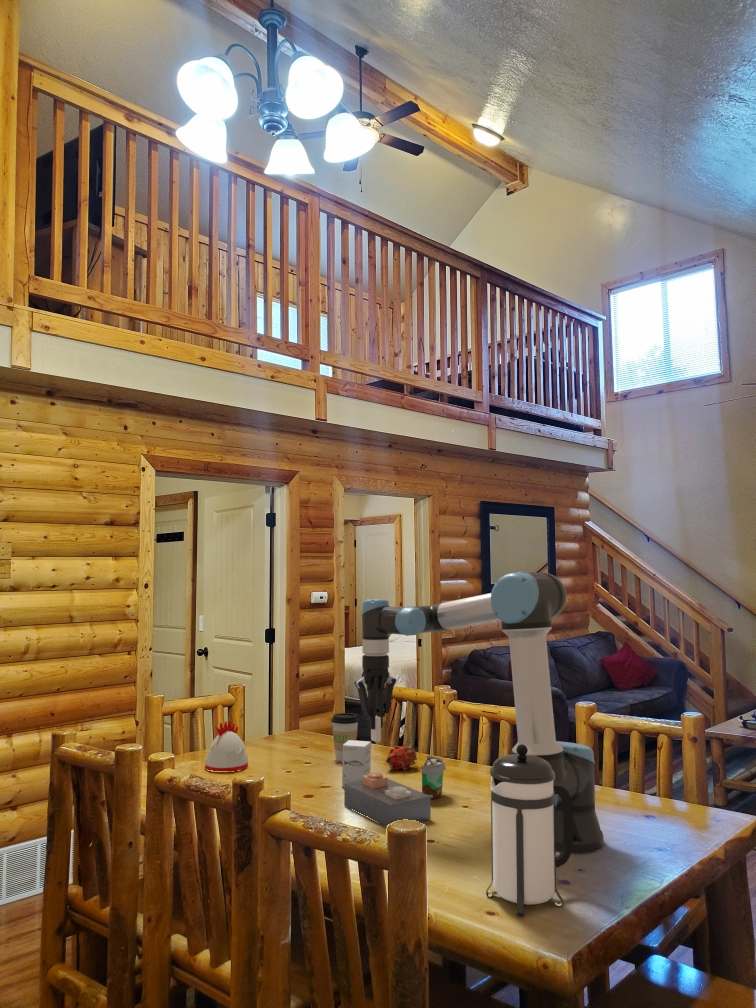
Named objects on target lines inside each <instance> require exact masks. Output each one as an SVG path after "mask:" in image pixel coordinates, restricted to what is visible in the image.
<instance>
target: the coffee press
mask: <svg viewBox="0 0 756 1008" xmlns="http://www.w3.org/2000/svg"><path fill="white" fill-rule="evenodd" d="M516 751H517V753H518V754H505V755H503V756H500V757H498V758H496V760H495V761H493V764H492V767H490V768H489V769H490V770H489V774H490V785H489V787H490V798H491V800H490V808H491V809H490V811H491V812H490V819H491V821H490V822H491V823H490V825H491V826H490V827H491V828H490V829H491V834H490V835H491V836H490V837H491V883H490V884H489V885H488V887H487V888H486V891H485V895H486V896H487V897H488V893H489V890H490V889H491V887H492V885H493V888H494V892H493V893H491V894H492V896H493V897H494V896H495V895H496V894H497V895H498V896H500V897H501V898H503V899H504V900H506V901H509V902H511V903H515V904H516V916H517V915H519V916H518V917H522V916H524V917H525V910H526V909H525V908H526V905H539V904H542V903H546V902H548V901H549V900H550V901H551V902H552V903H553V904H554V905H555V903H556V902H557V901H556V899H555V898H554V895H555V894H556V896H557V897H558V898H559V900H560V901H561V902H562V905H563V904H564V898H563V897H562V895H561V894H560V892H559V891H558V888H557V887H558V885H557V868H560V867H562V866H563V865H565V864H566V863H567V862H568V861H569V859H570V857H571V855H572V853H571V852H572V847H573V814H572V802H571V797H570V795H569V793H568V791H567V790H566V789H565V788H564V787H562V786H559V785H553V781H554V779H555V772H554V771H553V770H552V767H551V765H550V764H549V763H548V762H547V761H546V760H544V759H542V758H540V757H536V756H532V755H526V754H527V751H528V750H527V747H526V746H525V745H523V744H520V745H518V746H517V749H516ZM555 794H558V795H559V796H560V797H561V800H562V804H563V848H562V851H560V853H559V855H557V853H556V851H557V850H556V837H555ZM554 843H555V850H554Z"/></svg>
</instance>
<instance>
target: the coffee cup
mask: <svg viewBox="0 0 756 1008" xmlns="http://www.w3.org/2000/svg"><path fill="white" fill-rule="evenodd" d="M330 722H331V724H332V735H333V736H332V737H333V747H334V754H335V755H334V756H335V760H336V762H340V763H343V745H344V744H345V743H346V742H347V741H348V740H354V741H357V737H358V724H359V723H360V719H359V717H358V714H357V713H351V712H350V713H349V712H343V713H342V712H341V713H339V712H338V713H335V714H333V716H332V717H331V720H330Z"/></svg>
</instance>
